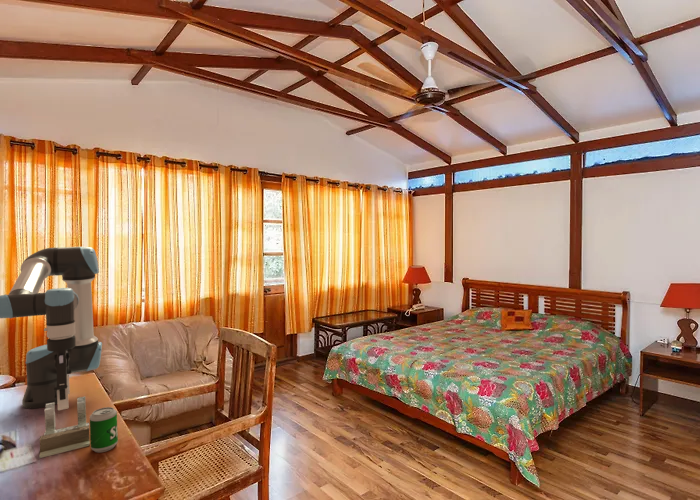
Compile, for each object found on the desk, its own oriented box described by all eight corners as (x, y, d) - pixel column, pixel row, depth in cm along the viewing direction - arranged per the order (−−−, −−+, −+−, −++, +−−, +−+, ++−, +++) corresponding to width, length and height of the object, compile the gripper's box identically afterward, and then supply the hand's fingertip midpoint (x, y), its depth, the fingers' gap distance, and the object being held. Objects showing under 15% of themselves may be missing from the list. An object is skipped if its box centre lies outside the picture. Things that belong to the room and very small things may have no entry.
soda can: (105, 454, 126) (104, 416, 126) (84, 452, 128) (83, 415, 127) (123, 442, 133) (122, 406, 133) (103, 441, 135) (102, 405, 135)
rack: (44, 434, 141) (43, 404, 140) (89, 423, 148) (87, 395, 148) (42, 442, 135) (41, 411, 135) (89, 431, 142) (88, 401, 142)
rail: (40, 452, 127) (39, 439, 127) (40, 448, 129) (40, 436, 129) (89, 440, 134) (89, 428, 134) (89, 437, 136) (88, 425, 136)
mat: (41, 448, 131) (41, 446, 131) (89, 437, 138) (89, 434, 138) (39, 458, 125) (39, 455, 125) (89, 445, 132) (89, 443, 132)
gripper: (49, 330, 139) (52, 391, 140) (43, 347, 118) (46, 419, 119) (75, 327, 143) (78, 386, 144) (74, 343, 122) (77, 412, 123)
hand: (64, 401), depth 131 cm, fingers open, 13 cm apart
